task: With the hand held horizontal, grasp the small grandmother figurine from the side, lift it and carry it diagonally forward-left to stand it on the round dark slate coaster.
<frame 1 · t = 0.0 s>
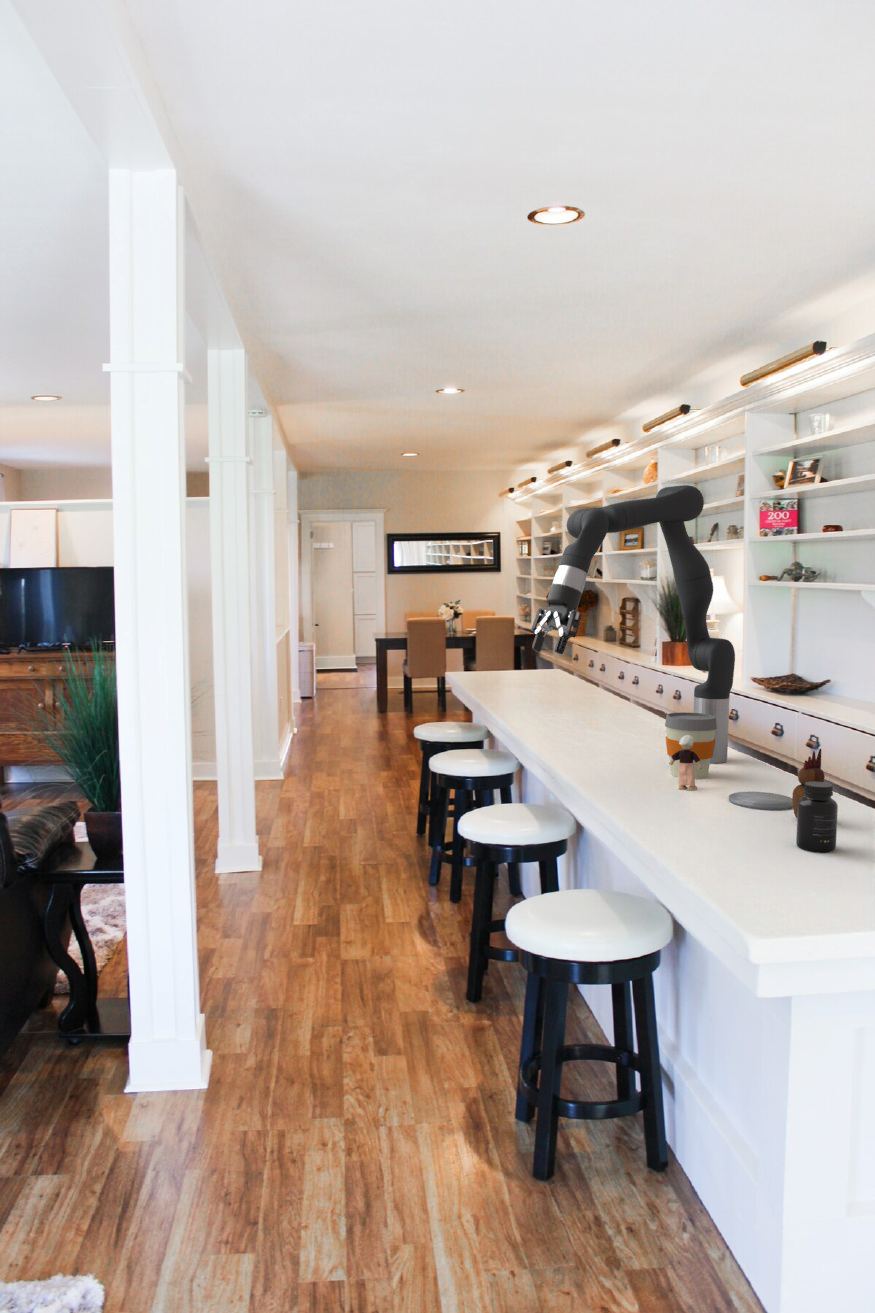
hand: (546, 651, 223), 31 cm above the countertop, tool tilted 20°, fingers open, 8 cm apart
reusable coffee cup: (689, 776, 236), on the countertop
wooden figurine: (809, 822, 192), on the countertop
slate coaster: (761, 802, 208), on the countertop
supplement bottle: (815, 849, 173), on the countertop
grandmother figurine: (684, 789, 220), on the countertop
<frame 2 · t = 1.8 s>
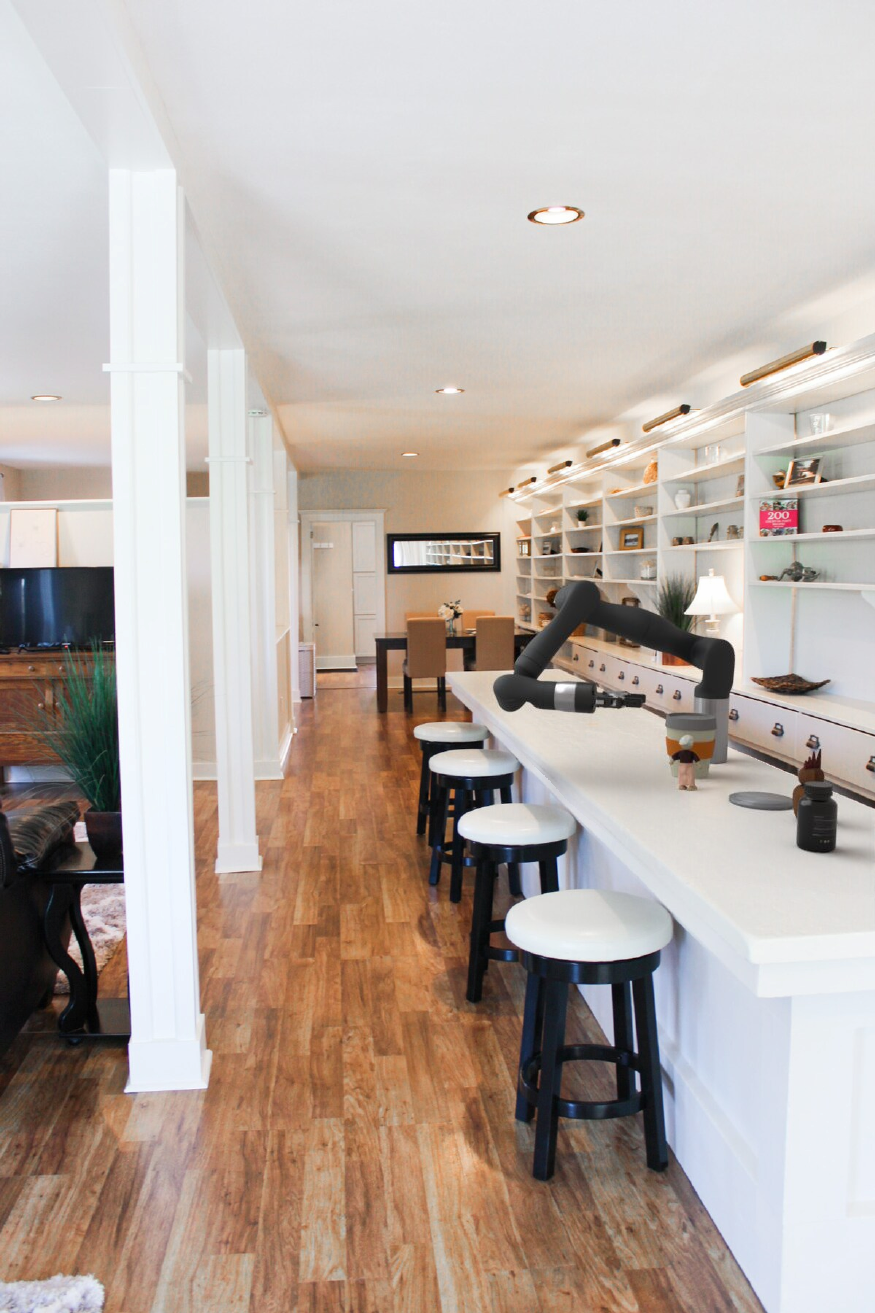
hand: (643, 701, 222), 20 cm above the countertop, tool horizontal, fingers open, 8 cm apart
nothing on the countertop moved.
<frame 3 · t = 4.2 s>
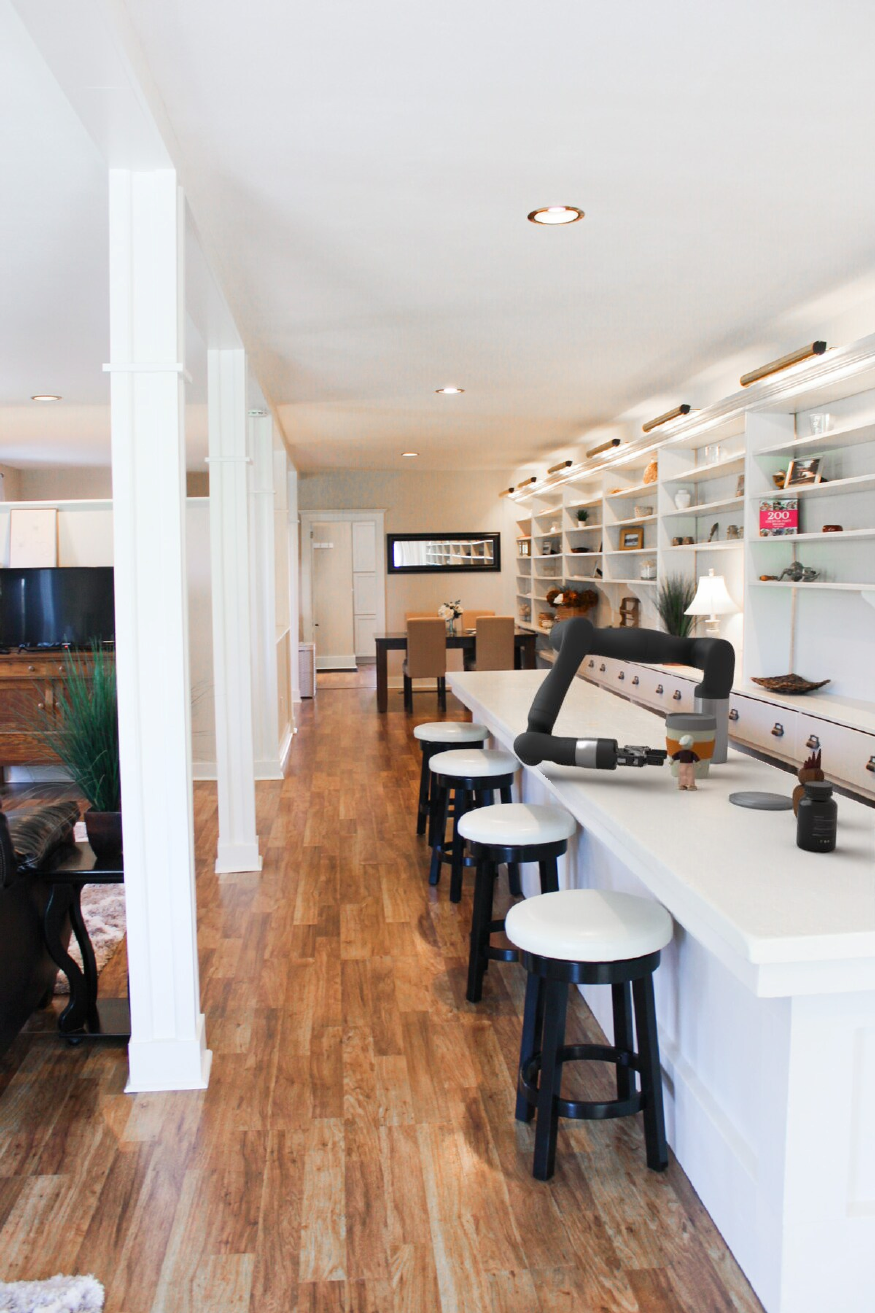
hand: (665, 757, 221), 7 cm above the countertop, tool horizontal, fingers open, 8 cm apart
nothing on the countertop moved.
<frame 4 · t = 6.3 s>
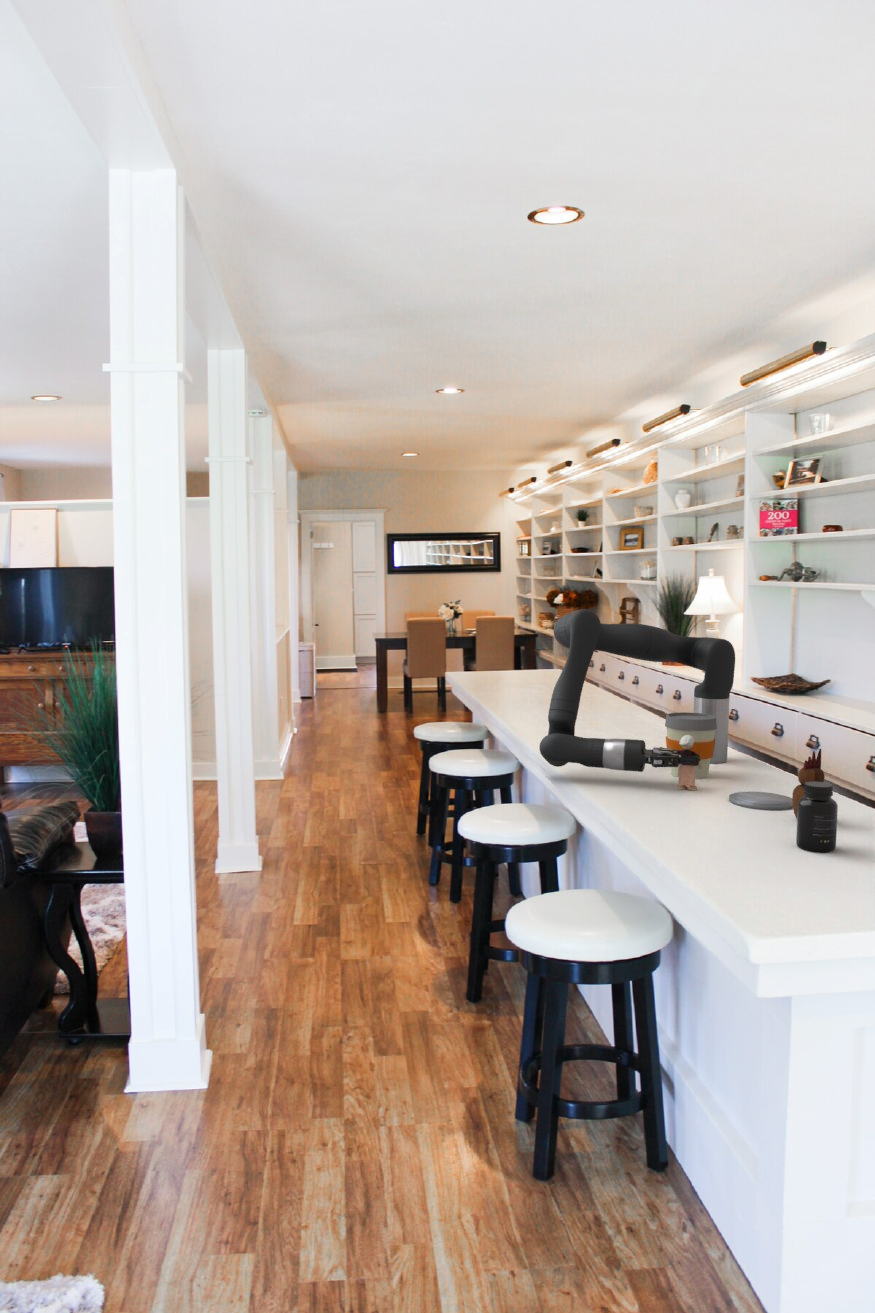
hand: (698, 759, 219), 7 cm above the countertop, tool horizontal, fingers closed on grandmother figurine, 2 cm apart
grandmother figurine: (684, 789, 220), on the countertop, touching gripper
everything else where it was.
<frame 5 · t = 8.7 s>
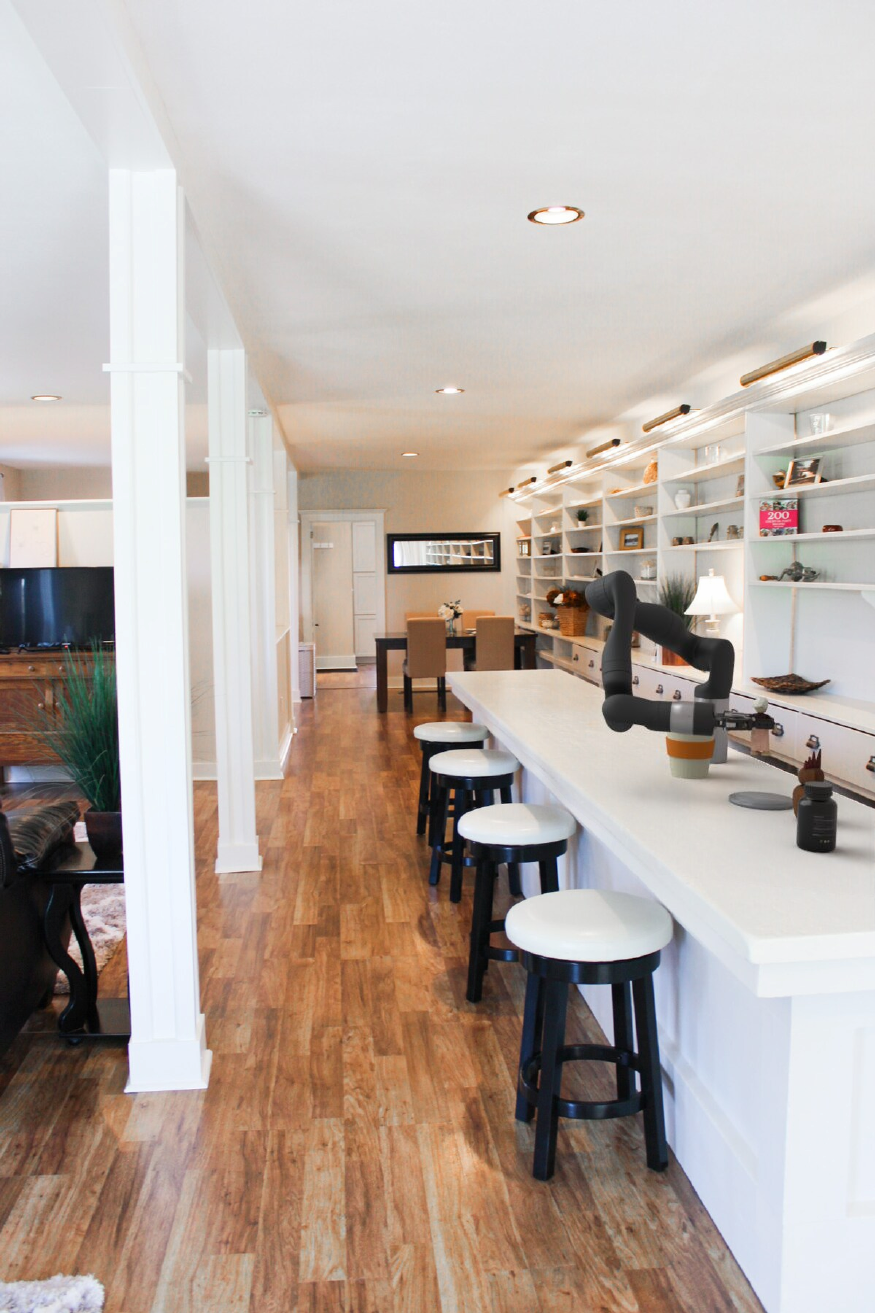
hand: (773, 723, 206), 18 cm above the countertop, tool horizontal, fingers closed on grandmother figurine, 2 cm apart
grandmother figurine: (757, 755, 207), point 10 cm above the countertop, touching gripper
everything else where it was.
when the fingers open (8 cm above the countertop, at t = 11.3 s): grandmother figurine stays where it is, resting on slate coaster.
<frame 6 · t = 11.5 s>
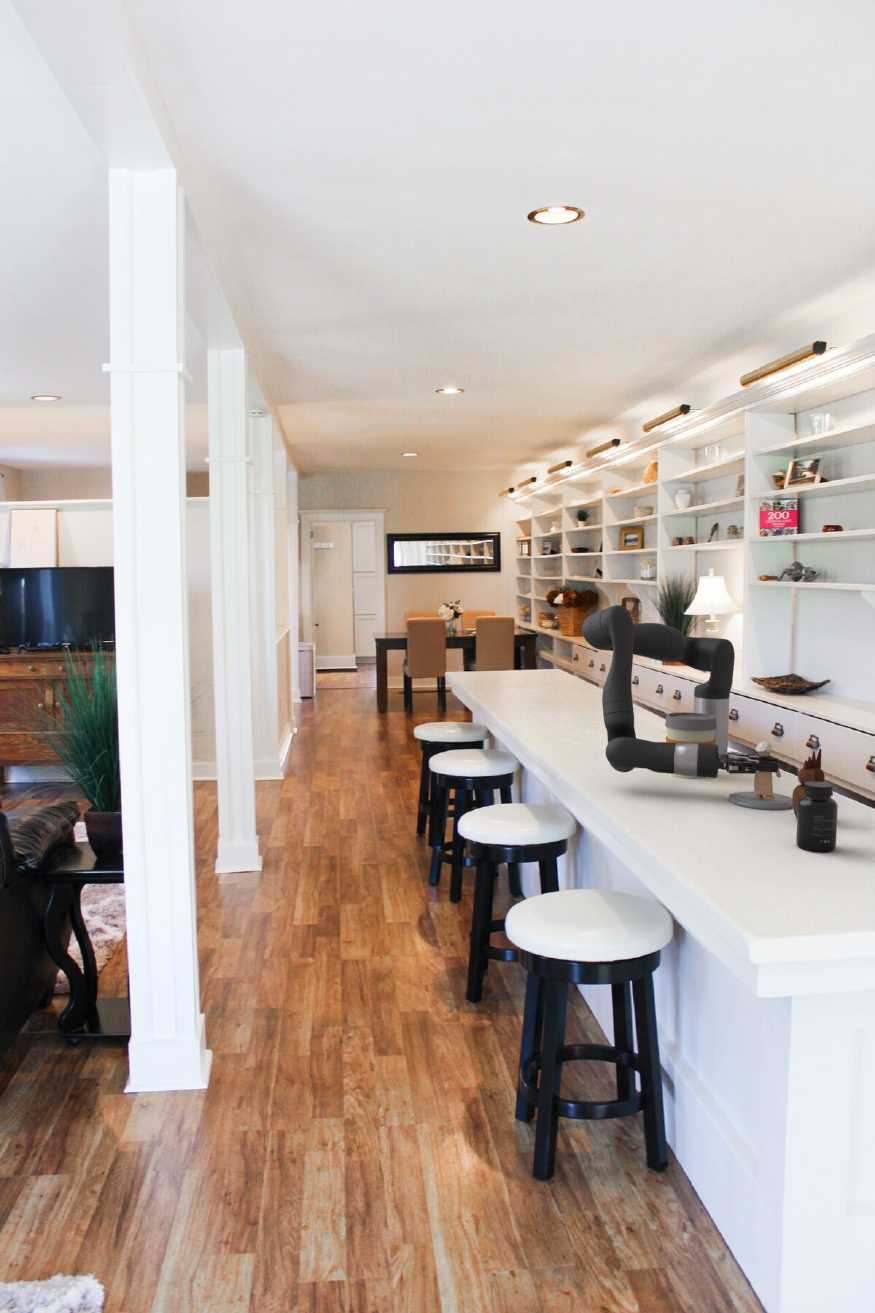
hand: (776, 765, 206), 8 cm above the countertop, tool horizontal, fingers open, 3 cm apart
grandmother figurine: (761, 798, 208), point 1 cm above the countertop, touching slate coaster
everything else where it was.
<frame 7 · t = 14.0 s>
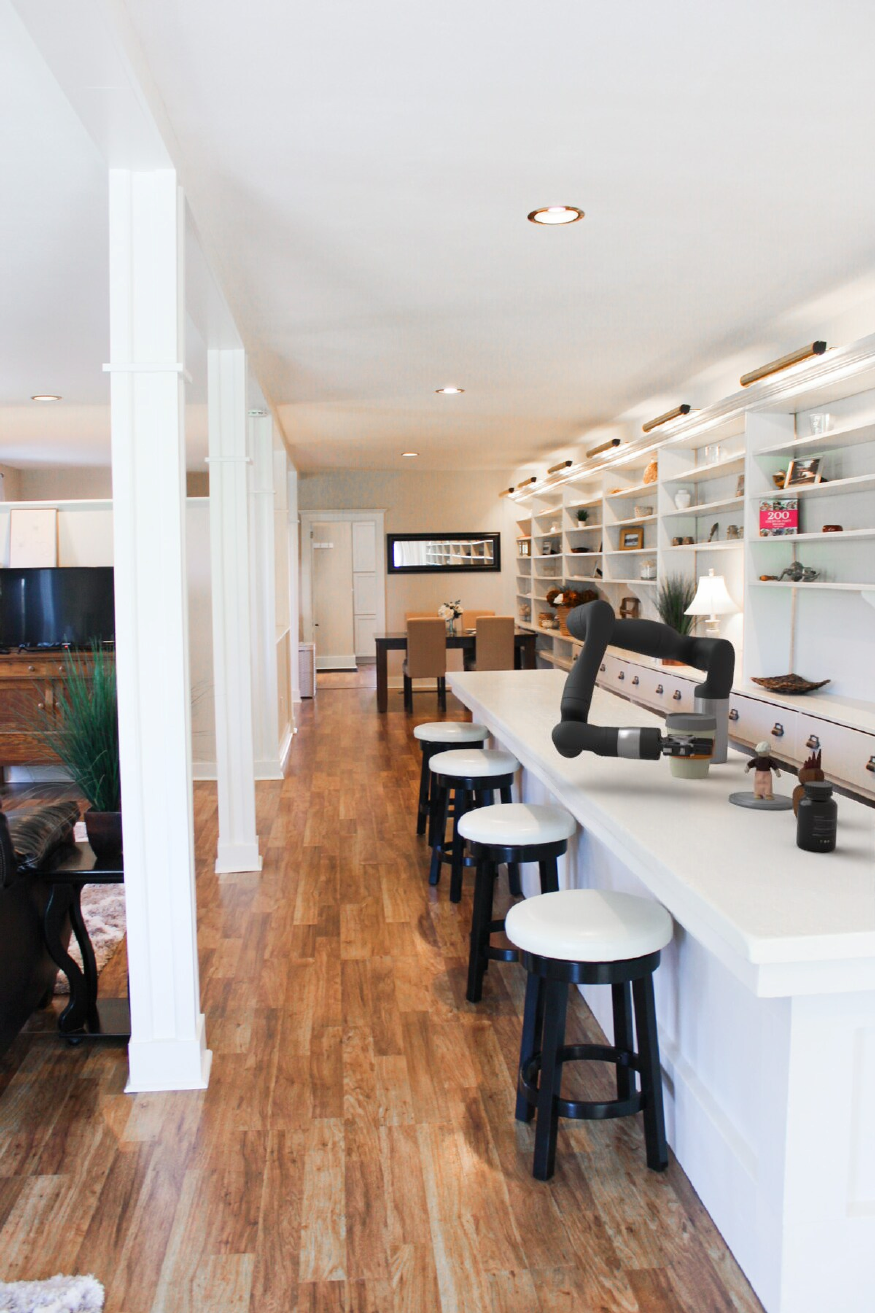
hand: (712, 746, 211), 11 cm above the countertop, tool horizontal, fingers open, 8 cm apart
nothing on the countertop moved.
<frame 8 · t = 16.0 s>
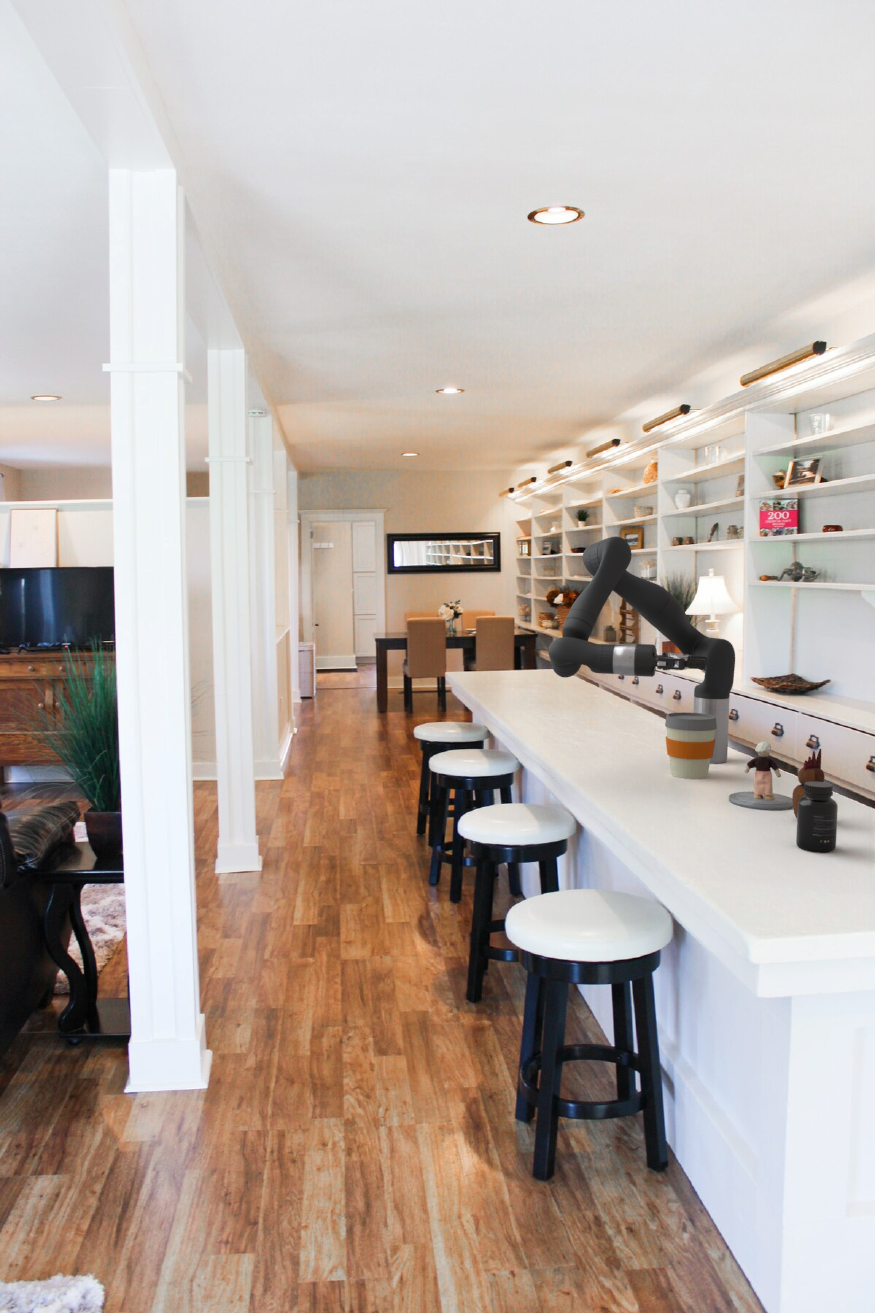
hand: (706, 662, 215), 30 cm above the countertop, tool horizontal, fingers open, 8 cm apart
nothing on the countertop moved.
at the end: grandmother figurine inside the target area on the slate coaster (0.2 cm from its centre), point 0.7 cm above the slate coaster's base; grandmother figurine tilted 0°; the gripper is holding nothing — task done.
